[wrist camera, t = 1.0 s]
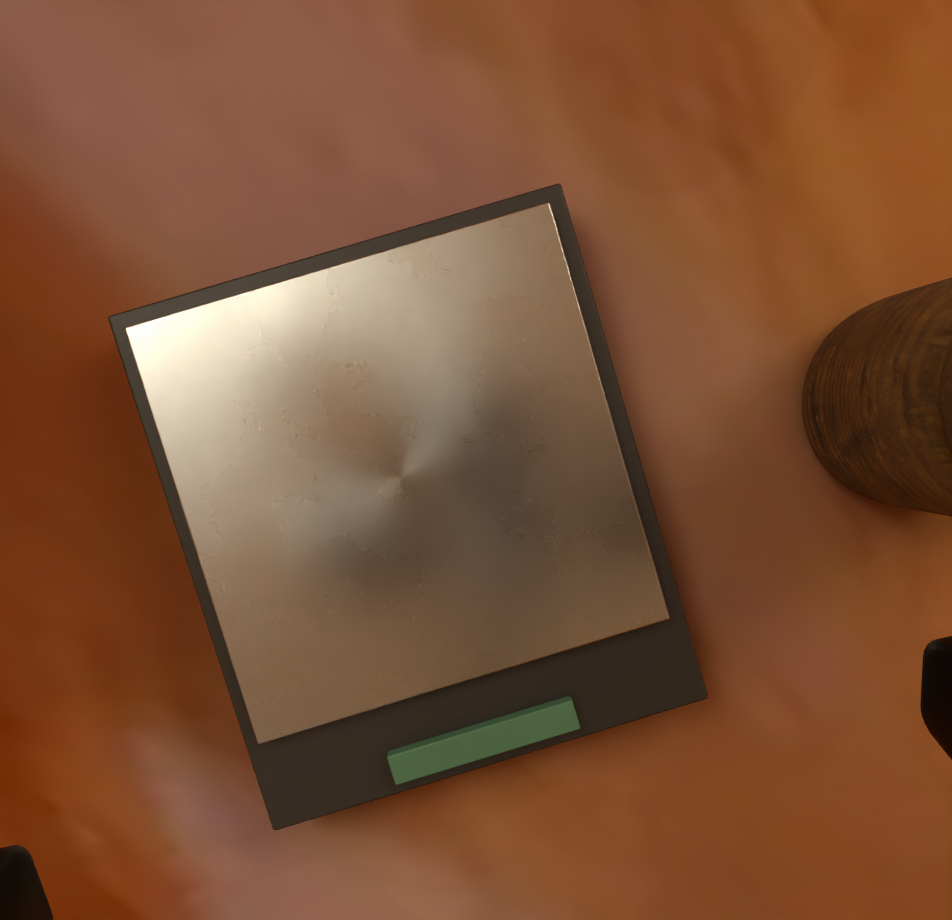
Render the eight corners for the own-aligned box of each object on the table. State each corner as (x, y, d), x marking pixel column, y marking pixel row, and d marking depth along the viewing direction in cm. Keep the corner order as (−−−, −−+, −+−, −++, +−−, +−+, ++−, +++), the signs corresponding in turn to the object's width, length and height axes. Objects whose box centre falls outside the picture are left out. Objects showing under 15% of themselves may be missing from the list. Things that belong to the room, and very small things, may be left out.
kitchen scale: (685, 673, 22) (716, 706, 19) (289, 794, 22) (268, 843, 19) (550, 205, 21) (563, 175, 19) (139, 326, 21) (96, 313, 18)
